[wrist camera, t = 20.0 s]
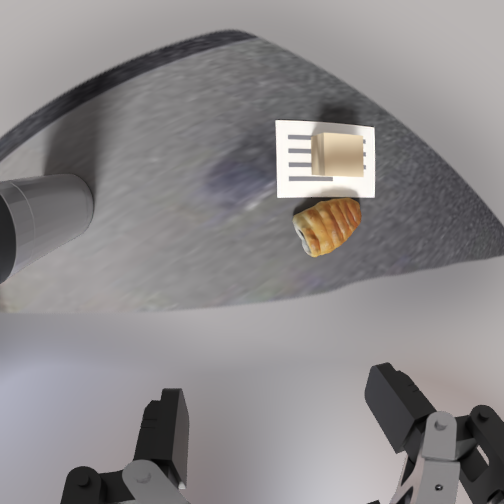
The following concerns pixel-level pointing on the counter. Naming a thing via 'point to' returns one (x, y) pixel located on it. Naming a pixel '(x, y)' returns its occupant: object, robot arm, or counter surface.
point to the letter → (299, 161)
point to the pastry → (327, 225)
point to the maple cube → (337, 155)
